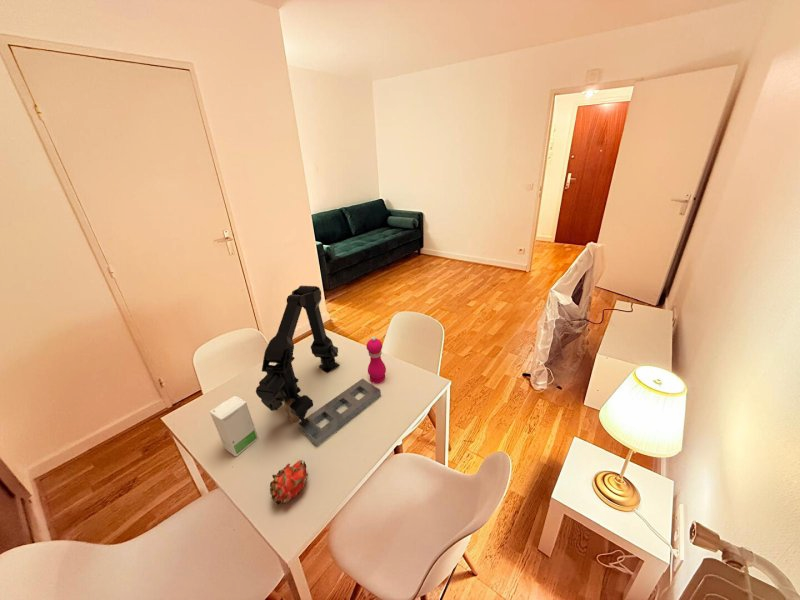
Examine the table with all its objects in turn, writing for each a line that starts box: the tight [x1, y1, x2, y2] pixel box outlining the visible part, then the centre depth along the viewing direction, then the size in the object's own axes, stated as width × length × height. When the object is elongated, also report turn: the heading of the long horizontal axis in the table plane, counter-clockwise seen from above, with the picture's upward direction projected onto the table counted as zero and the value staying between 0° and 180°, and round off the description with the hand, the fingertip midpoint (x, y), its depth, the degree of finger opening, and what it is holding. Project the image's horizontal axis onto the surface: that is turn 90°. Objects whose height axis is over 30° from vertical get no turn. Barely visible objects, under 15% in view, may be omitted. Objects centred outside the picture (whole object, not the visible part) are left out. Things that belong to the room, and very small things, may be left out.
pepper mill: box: [366, 336, 387, 385], centre depth 116 cm, size 7×7×20 cm
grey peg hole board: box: [298, 378, 382, 447], centre depth 105 cm, size 10×28×3 cm, turn 138°
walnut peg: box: [282, 399, 301, 424], centre depth 102 cm, size 4×4×8 cm
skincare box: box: [209, 395, 259, 457], centre depth 92 cm, size 8×7×16 cm
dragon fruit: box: [269, 459, 309, 506], centre depth 80 cm, size 8×8×12 cm
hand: (295, 413), depth 103 cm, fingers open, 9 cm apart
